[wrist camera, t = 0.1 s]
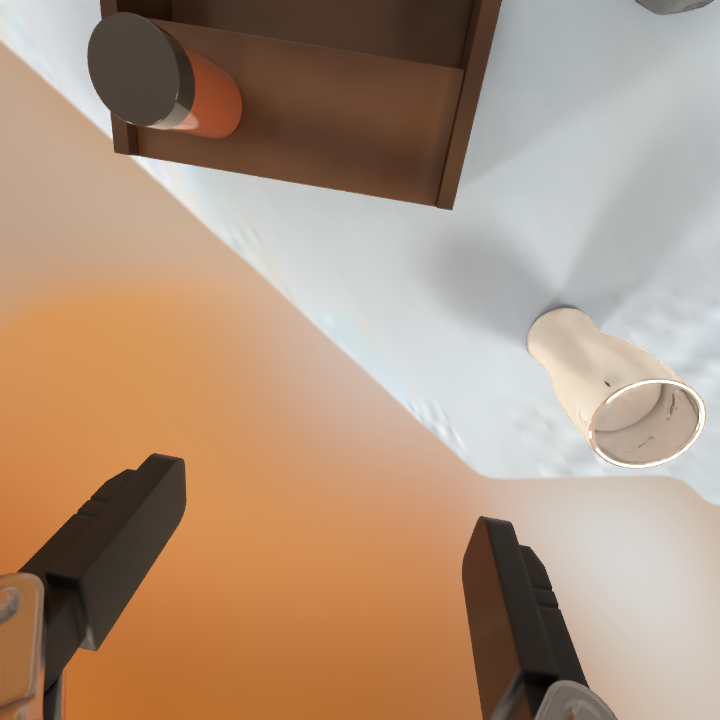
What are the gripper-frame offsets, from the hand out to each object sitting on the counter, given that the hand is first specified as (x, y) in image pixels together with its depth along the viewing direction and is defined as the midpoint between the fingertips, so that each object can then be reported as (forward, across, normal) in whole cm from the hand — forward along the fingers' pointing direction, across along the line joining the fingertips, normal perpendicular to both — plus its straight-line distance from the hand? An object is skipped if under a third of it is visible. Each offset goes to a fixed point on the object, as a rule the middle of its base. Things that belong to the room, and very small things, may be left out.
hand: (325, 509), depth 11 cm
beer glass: (+30, -18, +3) cm, 35 cm away
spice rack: (+29, +7, -14) cm, 33 cm away
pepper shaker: (+20, +12, -11) cm, 26 cm away
